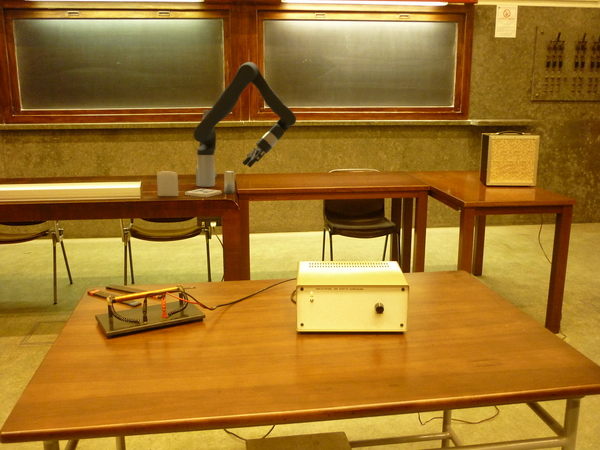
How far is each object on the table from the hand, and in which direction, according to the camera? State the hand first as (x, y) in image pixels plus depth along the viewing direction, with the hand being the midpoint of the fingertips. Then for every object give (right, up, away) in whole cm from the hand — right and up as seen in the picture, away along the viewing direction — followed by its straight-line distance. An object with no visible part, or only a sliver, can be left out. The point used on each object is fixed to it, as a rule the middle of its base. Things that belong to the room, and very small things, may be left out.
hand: (246, 165), depth 300 cm
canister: (-9, -14, 0) cm, 17 cm away
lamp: (-29, -1, +57) cm, 64 cm away
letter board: (-21, -15, -6) cm, 27 cm away
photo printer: (-38, -17, -11) cm, 43 cm away
